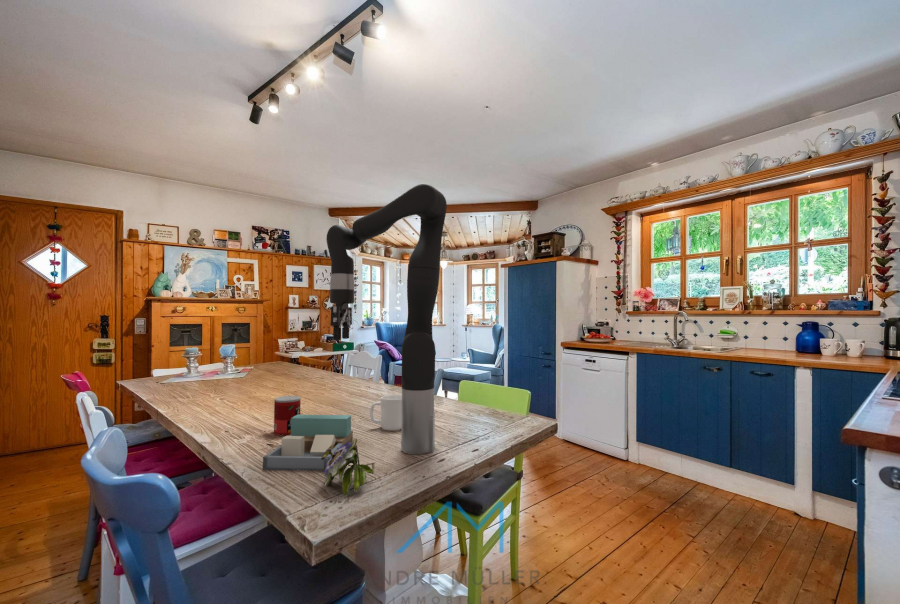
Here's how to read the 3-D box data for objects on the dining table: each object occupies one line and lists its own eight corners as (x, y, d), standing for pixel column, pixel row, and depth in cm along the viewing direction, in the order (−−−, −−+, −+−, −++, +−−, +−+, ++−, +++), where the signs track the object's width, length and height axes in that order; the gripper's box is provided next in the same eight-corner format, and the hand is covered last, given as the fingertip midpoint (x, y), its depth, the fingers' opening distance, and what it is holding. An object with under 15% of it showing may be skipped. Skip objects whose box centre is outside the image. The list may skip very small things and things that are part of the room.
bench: (352, 442, 113) (352, 430, 114) (341, 454, 103) (342, 441, 104) (299, 441, 114) (299, 429, 114) (283, 453, 104) (284, 440, 104)
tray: (341, 454, 103) (342, 443, 104) (327, 470, 92) (327, 458, 93) (283, 453, 104) (284, 442, 104) (262, 469, 93) (263, 457, 93)
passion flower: (329, 510, 84) (318, 456, 90) (377, 492, 89) (364, 442, 95) (328, 501, 76) (316, 442, 82) (381, 481, 80) (367, 427, 86)
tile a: (335, 440, 104) (334, 434, 102) (331, 457, 100) (329, 452, 98) (317, 440, 104) (315, 434, 102) (312, 457, 100) (310, 452, 99)
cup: (407, 429, 127) (407, 398, 127) (370, 432, 123) (371, 401, 123) (403, 423, 134) (403, 393, 135) (368, 425, 131) (368, 395, 131)
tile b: (304, 436, 102) (300, 439, 99) (304, 455, 101) (299, 458, 99) (286, 435, 102) (281, 438, 100) (286, 454, 102) (281, 457, 99)
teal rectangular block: (350, 432, 112) (351, 415, 112) (346, 436, 108) (347, 418, 108) (296, 431, 112) (297, 414, 112) (290, 436, 108) (291, 418, 108)
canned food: (290, 436, 119) (291, 401, 119) (268, 435, 120) (268, 399, 121) (304, 429, 126) (305, 396, 127) (283, 428, 128) (284, 394, 128)
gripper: (347, 287, 115) (346, 340, 115) (359, 290, 129) (359, 338, 129) (322, 286, 115) (321, 340, 115) (337, 290, 130) (337, 338, 129)
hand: (341, 339), depth 122 cm, fingers open, 8 cm apart
